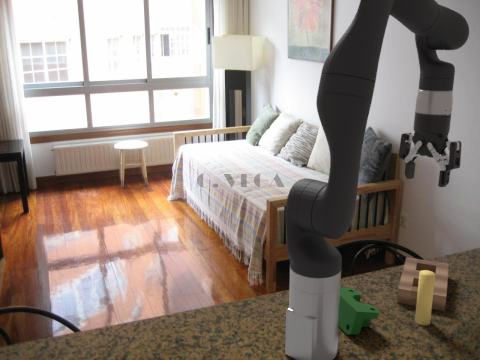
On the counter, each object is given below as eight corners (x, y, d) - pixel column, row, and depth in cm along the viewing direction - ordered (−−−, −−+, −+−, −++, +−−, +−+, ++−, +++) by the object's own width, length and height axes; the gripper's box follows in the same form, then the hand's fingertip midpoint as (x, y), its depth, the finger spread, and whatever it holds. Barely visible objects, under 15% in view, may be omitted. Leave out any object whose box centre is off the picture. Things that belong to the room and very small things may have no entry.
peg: (426, 327, 106) (431, 278, 103) (412, 321, 108) (417, 273, 105) (432, 321, 108) (437, 273, 105) (418, 316, 110) (423, 268, 107)
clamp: (364, 348, 107) (386, 320, 102) (339, 347, 104) (360, 318, 100) (343, 302, 116) (362, 274, 111) (320, 300, 114) (338, 272, 109)
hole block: (444, 311, 112) (446, 296, 111) (396, 302, 116) (398, 288, 115) (447, 276, 128) (448, 263, 127) (405, 270, 132) (406, 257, 131)
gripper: (395, 108, 117) (389, 178, 121) (452, 115, 106) (444, 192, 110) (416, 106, 121) (409, 173, 125) (473, 113, 110) (464, 187, 114)
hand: (425, 182), depth 117 cm, fingers open, 8 cm apart
